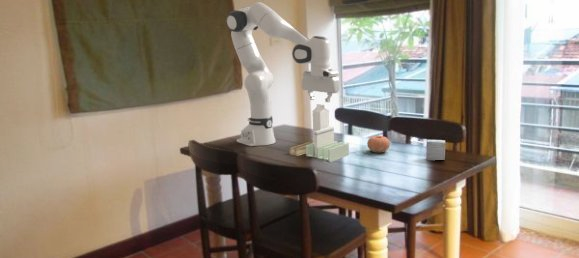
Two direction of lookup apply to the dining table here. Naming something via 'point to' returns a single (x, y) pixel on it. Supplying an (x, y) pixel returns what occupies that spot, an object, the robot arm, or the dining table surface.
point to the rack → (328, 151)
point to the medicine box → (435, 150)
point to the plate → (323, 137)
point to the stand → (299, 149)
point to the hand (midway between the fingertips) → (319, 101)
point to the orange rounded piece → (378, 144)
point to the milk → (320, 118)
